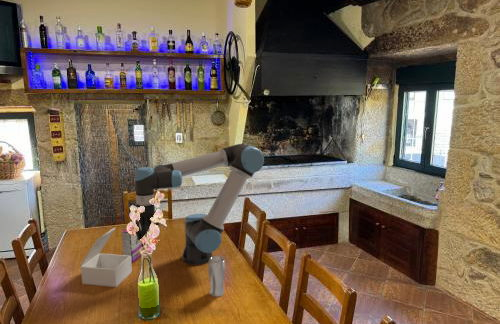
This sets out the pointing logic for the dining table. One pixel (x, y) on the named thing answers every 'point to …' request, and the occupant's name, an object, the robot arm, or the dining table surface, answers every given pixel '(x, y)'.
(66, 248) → the dining table surface
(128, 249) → the candy bar box
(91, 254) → the mailer lid
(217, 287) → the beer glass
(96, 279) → the mailer box
